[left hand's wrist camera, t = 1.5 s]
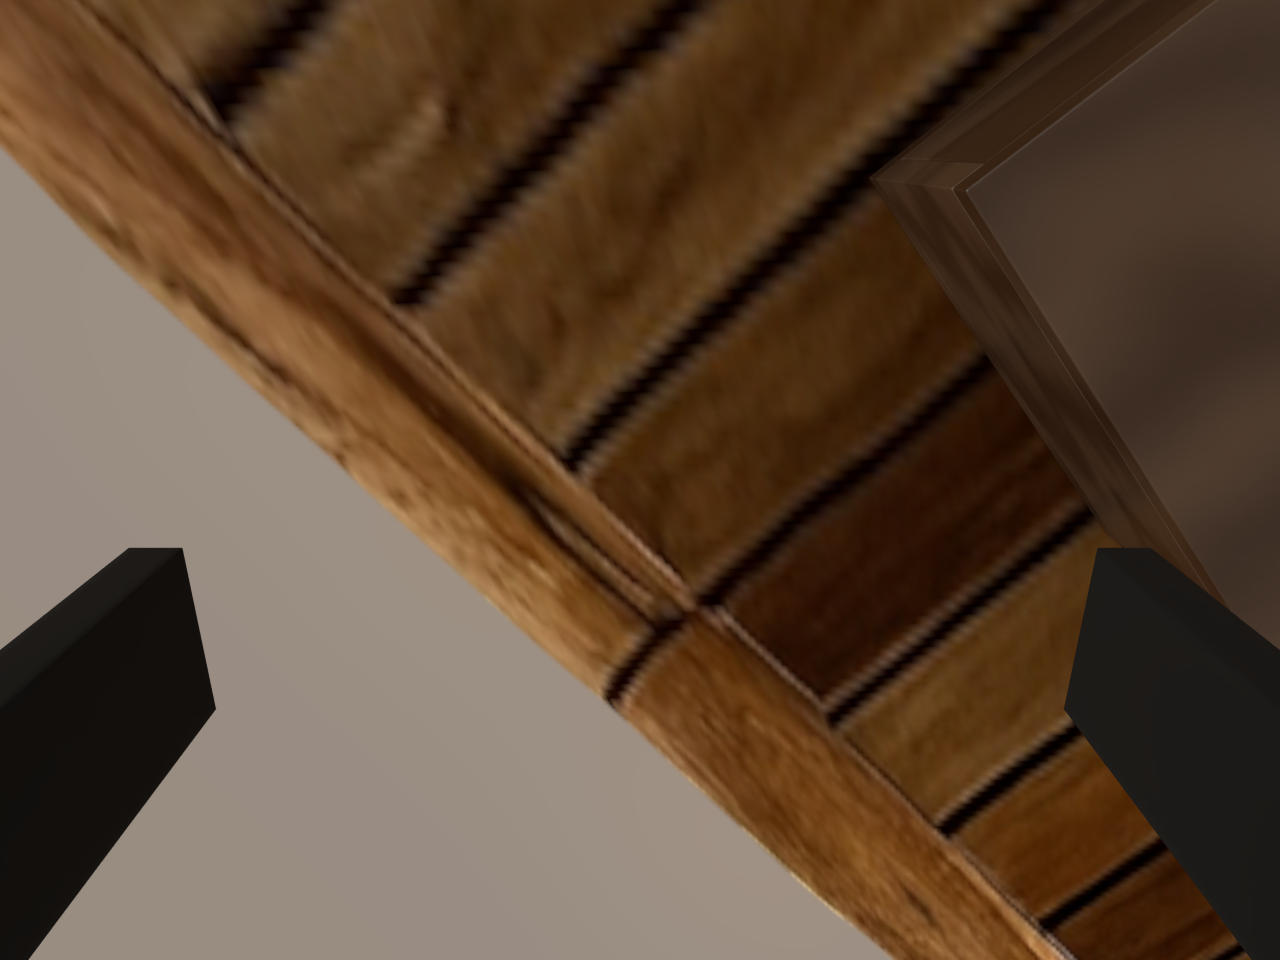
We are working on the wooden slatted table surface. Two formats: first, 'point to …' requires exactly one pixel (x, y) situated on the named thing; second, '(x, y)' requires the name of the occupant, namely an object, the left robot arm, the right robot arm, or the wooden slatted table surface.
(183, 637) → the left robot arm
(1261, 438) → the cabinet
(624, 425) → the wooden slatted table surface
